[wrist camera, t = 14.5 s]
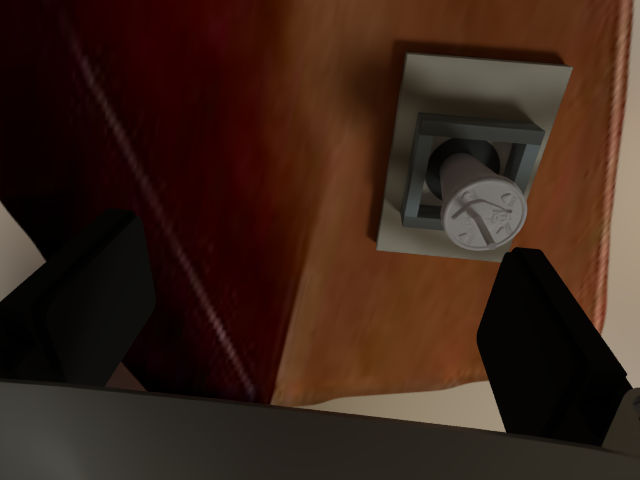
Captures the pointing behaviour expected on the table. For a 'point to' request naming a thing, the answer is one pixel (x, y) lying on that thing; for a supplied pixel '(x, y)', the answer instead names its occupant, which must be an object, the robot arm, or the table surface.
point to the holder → (462, 139)
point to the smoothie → (479, 204)
